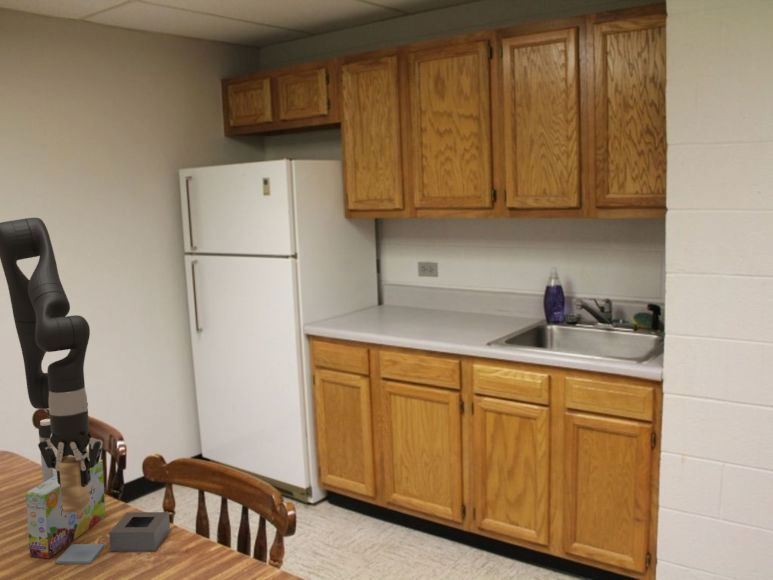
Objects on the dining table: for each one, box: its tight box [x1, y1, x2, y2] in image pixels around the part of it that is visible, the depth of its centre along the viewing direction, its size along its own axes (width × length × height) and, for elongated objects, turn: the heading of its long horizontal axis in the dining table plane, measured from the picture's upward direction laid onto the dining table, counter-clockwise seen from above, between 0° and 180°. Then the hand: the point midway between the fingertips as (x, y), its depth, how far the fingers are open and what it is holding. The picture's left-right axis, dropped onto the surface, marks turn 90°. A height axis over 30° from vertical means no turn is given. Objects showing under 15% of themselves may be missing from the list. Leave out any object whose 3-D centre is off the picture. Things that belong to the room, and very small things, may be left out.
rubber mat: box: [55, 543, 106, 565], centre depth 157 cm, size 8×8×1 cm
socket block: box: [109, 511, 171, 553], centre depth 163 cm, size 10×10×4 cm
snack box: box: [25, 458, 106, 559], centre depth 166 cm, size 21×6×15 cm, turn 168°
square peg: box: [59, 457, 89, 512], centre depth 155 cm, size 4×4×11 cm
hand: (74, 485), depth 155 cm, fingers closed on square peg, 4 cm apart
